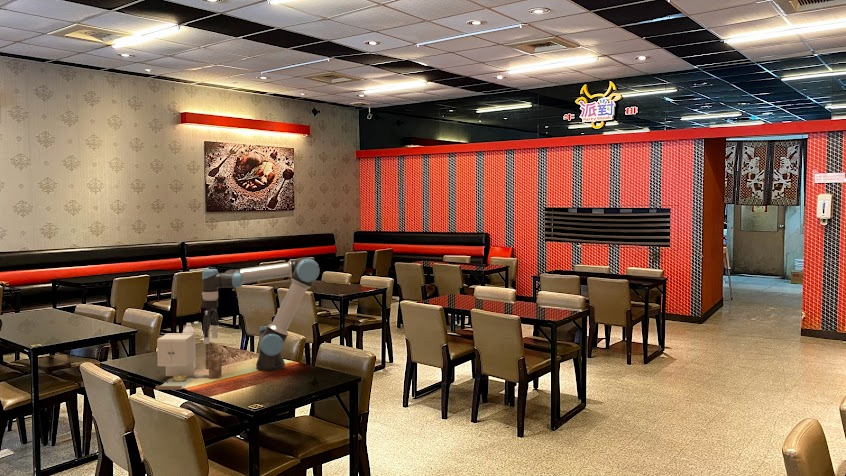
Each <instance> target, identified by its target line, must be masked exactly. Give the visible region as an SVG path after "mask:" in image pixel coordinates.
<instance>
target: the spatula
mask: <svg viewBox="0 0 846 476" xmlns="http://www.w3.org/2000/svg"><path fill="white" fill-rule="evenodd" d="M222 366H223V365H222V356H216V357H215V356H213V357H210V358H209V359H208V374H194V375H186V378H194V379H209V380H212V379H213V380H219V379H220V378H221V377H222V371H223V370H222Z"/></svg>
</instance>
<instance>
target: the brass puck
mask: <svg viewBox="0 0 846 476" xmlns="http://www.w3.org/2000/svg"><path fill="white" fill-rule="evenodd" d="M172 378H173V381H174V382H183V381H186V374H177V375H174V376H172Z"/></svg>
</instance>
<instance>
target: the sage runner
mask: <svg viewBox="0 0 846 476" xmlns="http://www.w3.org/2000/svg"><path fill="white" fill-rule="evenodd" d="M194 379H195V378H186V381H183V382H174V381H173V377H171V378H169V379H167V380H166V381H167V382H168V383H167V382H166V381H165V382H163V384H160V385H156V386H155V390H156V391H157V390H162V391H163V390H167V391H170V390H173V391H174V390H176V391H177V390H181V391H182V389H184V388H185V387H186V386H187V385H188V384H190V383H192V381H193V380H194Z"/></svg>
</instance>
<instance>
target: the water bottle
mask: <svg viewBox="0 0 846 476" xmlns="http://www.w3.org/2000/svg"><path fill="white" fill-rule="evenodd" d="M193 325H199V321H194V322H193ZM182 333H194V370H196V368H197V366H196V362H197V361H196V357H197V356H196V355H197V354H196V330H195V329H194V327H193V326H192V322H186V325H185V327H184V329H183V330H182Z"/></svg>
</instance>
